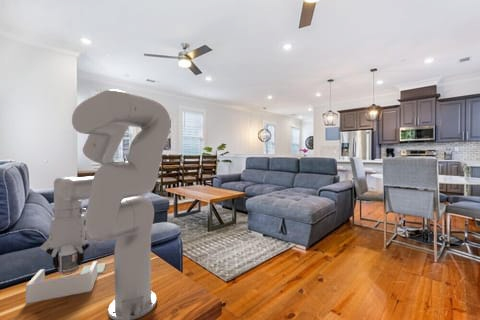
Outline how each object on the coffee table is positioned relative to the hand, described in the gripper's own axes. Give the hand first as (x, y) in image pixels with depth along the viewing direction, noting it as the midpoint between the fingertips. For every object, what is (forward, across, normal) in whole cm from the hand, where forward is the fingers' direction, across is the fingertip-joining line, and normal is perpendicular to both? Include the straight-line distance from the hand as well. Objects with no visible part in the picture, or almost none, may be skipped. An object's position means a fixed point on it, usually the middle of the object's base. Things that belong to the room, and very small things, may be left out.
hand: (68, 264), depth 79 cm
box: (+6, 0, +4) cm, 7 cm away
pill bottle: (+3, 0, 0) cm, 3 cm away
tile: (+6, -6, -6) cm, 11 cm away
